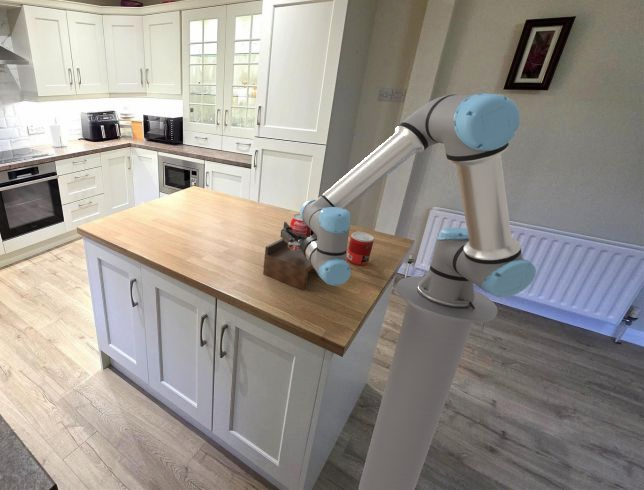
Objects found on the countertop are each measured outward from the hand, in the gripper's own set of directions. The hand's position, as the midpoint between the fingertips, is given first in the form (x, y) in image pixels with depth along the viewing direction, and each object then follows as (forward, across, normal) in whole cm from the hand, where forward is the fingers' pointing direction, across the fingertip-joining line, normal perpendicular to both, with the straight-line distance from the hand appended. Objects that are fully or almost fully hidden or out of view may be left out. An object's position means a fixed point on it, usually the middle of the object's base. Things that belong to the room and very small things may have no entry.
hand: (295, 225), depth 125 cm
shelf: (-5, 0, -17) cm, 18 cm away
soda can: (-5, 0, -7) cm, 9 cm away
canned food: (+6, +28, -17) cm, 33 cm away
